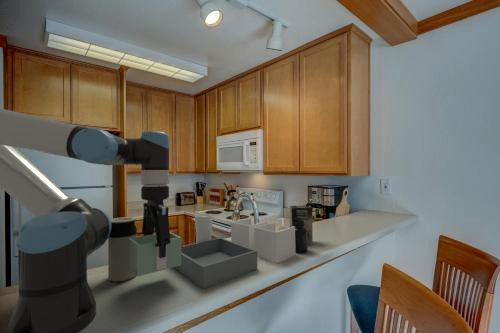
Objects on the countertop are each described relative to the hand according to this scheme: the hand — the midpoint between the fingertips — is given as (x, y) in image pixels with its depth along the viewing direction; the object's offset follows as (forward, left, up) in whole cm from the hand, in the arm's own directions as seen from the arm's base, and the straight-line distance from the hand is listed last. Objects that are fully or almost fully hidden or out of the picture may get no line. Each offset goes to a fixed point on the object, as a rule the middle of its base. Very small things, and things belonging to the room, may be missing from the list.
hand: (154, 263), depth 71 cm
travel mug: (-6, +13, -6) cm, 15 cm away
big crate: (+19, 0, -6) cm, 20 cm away
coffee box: (+62, -3, -7) cm, 63 cm away
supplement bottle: (+53, -9, -7) cm, 55 cm away
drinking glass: (+24, +15, -7) cm, 29 cm away
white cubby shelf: (+42, +1, -7) cm, 43 cm away
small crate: (0, 0, -1) cm, 1 cm away
